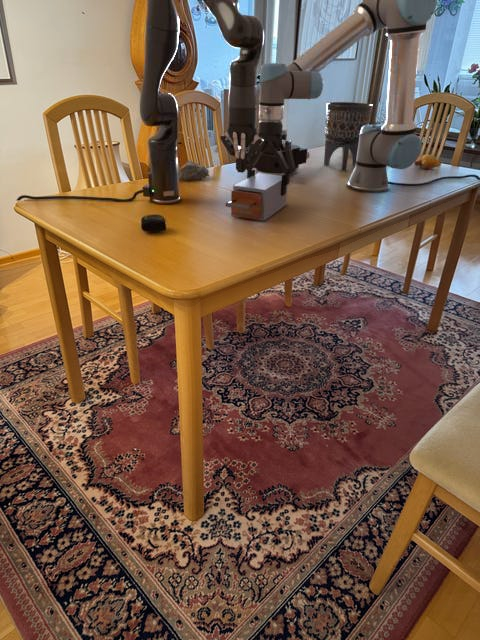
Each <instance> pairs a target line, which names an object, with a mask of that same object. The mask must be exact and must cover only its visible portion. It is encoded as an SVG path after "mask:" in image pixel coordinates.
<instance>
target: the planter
mask: <svg viewBox="0 0 480 640" xmlns="http://www.w3.org/2000/svg"><path fill="white" fill-rule="evenodd" d="M373 107H374V106H373V104H372V103H367V102H353V101H333V102H327V103H326V109H325V124H324V125H325V126H324V139H325V144H324V156H323V157H324V158H323V165H325V166H328V165H330V163H331V158H332V156H333V154H334V153H335V151H336V150H337V149H340V148H341V152H342V153H341V166H340V170H341V172H345V171H347V167H348V166H347V165H348V159H349V154H348V152H349V150H350V151H351V153H352V154H351V157H352V158H351V159H352V160H351V161H352V166H353V167H355V165H356V158H357V151H358V144H359V135H360V131H361V128H362V126H364V125H370V121H371V116H372V112H373Z"/></svg>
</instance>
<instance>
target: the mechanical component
mask: <svg viewBox="0 0 480 640" xmlns="http://www.w3.org/2000/svg"><path fill="white" fill-rule="evenodd" d="M287 138H288V129H287V128H286V127H283V129H282V139H283V140H288V139H287ZM280 149H281V151H282V154H283V157H284V159H285V161H286V163H287V165H288V162H287V157H286V153H285V148H284V146H283V144H282V145H281V146H280ZM291 150H292V154H293V159H294V163H295V168H296V172H294V173H298V171H299V167H300V165H303V164H304V165H305V164H307V160H309V158H310V156H311V154H310V152H309V151H308V148H304V147H301V146H299V145H297V144H291ZM256 152H257V151H256ZM255 154H256V153H255ZM255 154H254V155H255ZM254 155H253V156H251V158H250V161H249V164H250V162H251V160H252V159H253V157H254ZM288 167H289V166H288ZM253 169H255V174H258V173H262V174H270V175H279V176H282V175H283V174H284V172H283V170H282V168H281V166H280V163H279V161H278V159H277V157H276V156H275V154H274V153H269V152H263V153H262V155H261V156H260V158H259V159H258V161H257V163H256V164H255V166H254V167H253ZM291 175H292V174H290V176H291Z"/></svg>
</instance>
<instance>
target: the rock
mask: <svg viewBox="0 0 480 640" xmlns="http://www.w3.org/2000/svg"><path fill="white" fill-rule="evenodd" d="M209 172H210V171H209V169H208V168H207V167H206V166H205V165H202V164H200V163H196V162H193V161H192V160H188V161H186V163H185V164H183V165H182V166H181V167H180V168H178V181H183V182H196V181H197V182H198V181H202V179H205V178H207V177H210V173H209Z"/></svg>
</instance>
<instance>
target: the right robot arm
mask: <svg viewBox="0 0 480 640" xmlns="http://www.w3.org/2000/svg"><path fill="white" fill-rule="evenodd" d="M437 4H438V0H363V1H361V2H360V3H359V4H357V5H356V6H355V7H354V8H353V11H352V14H351V15H349V16H348V17H347V18H345V20H344V21H342V22H341V23H339V24H338V25H337V26H336V27H334V28H333V29H332V30H331V31H330V32H328V33H327V34H326V35H324V37H322V38H321V39H319V41H317V42H316V43H314V44H313V45H312V46H311V47H310V48H309V49H307V50H306V51H305V52H303V53H302V54H301V55H299V56H298V57H297V58H296V59H295V60H293V61H292V62H291V63H290V64H288V65H287V64H286V63H282V62H281V63H280V62H279V63H278V62H277V63H276V62H275V63H274V62H272V63H271V62H264V63H263V64H262V65H261V67H260V75H259V102H258V103H259V104H258V105H259V106H258V119H259V121H258V124H257V125H258V127H257V135H258V136H259V137H260V138H263V139H264V142H263V144H262V145H261V146H260V148H259V149H258V150H257V152H256V154H255V155H254V157H253V159H252V160H251V162H250V164H249V161H250V158H251V157H248V158H247V169H246V179H247V178H250V177H252V176H254V175H256V169H254V168H253V167H254V166H255V164H256V163H257V161H258V159H259V158H260V156H261V155H262V153H263V152H269V153H274V154H275V156H276V157H277V159H278V161H279V163H280V166H281V168H282V170H283V172H284V174H283V175H282V183H281V196H283V195H285V194H286V185H287V186H288V185H290V178H291V175H293V174H294V173H295V172H296V168H295V163H294V159H293V154H292V150H291V145H292V144H293V143H292V140H291V139H286V140H283V139H282V129H283V128H284V126H283V125H284V122H283V120H284V109H285V100H314V99H318V98H319V97H321V95H322V93H323V90H324V78H323V75H322V74H321V71H322V70H324V69H325V68H326V67H328V66H329V65H330V64H331V63H333V61H335V60H337V58H338V57H340V56H341V55H343V54H344V53H345V52H346V51H348V50H349V49H350V48H351V47H353V46H354V45H355V44H357V43H358V42H359V41H360V40H362V39H363V38H364V37H371V36H372V35H373V34H374V33H376V32H377V31H379V30H382V29H385V36H386V37H387V38H388V40H389V41H390V47H389V48H390V49H389V61H388V63H389V65H388V76H387V77H388V79H387V95H386V111H385V112H386V113H385V122H384V123H383V124H369V125H364V126H362V128H361V131H360V135H359V144H358V151H357V158H356V165H355V166H354V167H353V171H351V174H350V176H349V179H348V182H347V187H348V188H349V189H351V190H354V191H358V192H363V193H364V192H365V193H382V192H386V191H388V189H389V185H391V186H400V187H420V186H421V187H423V186H426V185H430V184H433V183H435V182H439V181H441V180H450V179H452V180H453V179H458V180H459V179H466V178H476V179H477V180H478V181H480V176H479V175H477V174H465V175H450V176H441V177H437V178H434V179H432V180H429V181H425V182H419V183H406V182H405V183H403V182H393V181H389V178H388V173H387V172H388V171H387V167H389V168H391V169H396V170H405V169H408V168H409V167H411V166H412V165H414V162H415V161H416V160H417V159H418V157H419V156H421V153H422V149H423V143H422V140H421V139H420V137H419V136H418V135H417V127H418V125H417V124H416V123H415V122H414V120H413V119H414V107H415V98H416V97H415V96H416V85H417V75H418V74H417V73H418V64H419V63H418V62H419V53H420V51H419V50H420V41H421V40H420V39H421V37H422V36H423V34H424V33H426V30H427V22H429V20H430V19H431V18H432V16H433V15H434V14H435V12H436V9H437ZM282 144H283V146H284V148H285V153H286V157H287V162H288V165H287V163H286V161H285V159H284V157H283V154H282V151H281V149H280V146H281V145H282ZM253 145H254V139H253V141H252V142H251V144H250V148H249V150H250V149H251V148H252V146H253ZM288 166H289V167H288ZM290 174H291V175H290Z"/></svg>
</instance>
